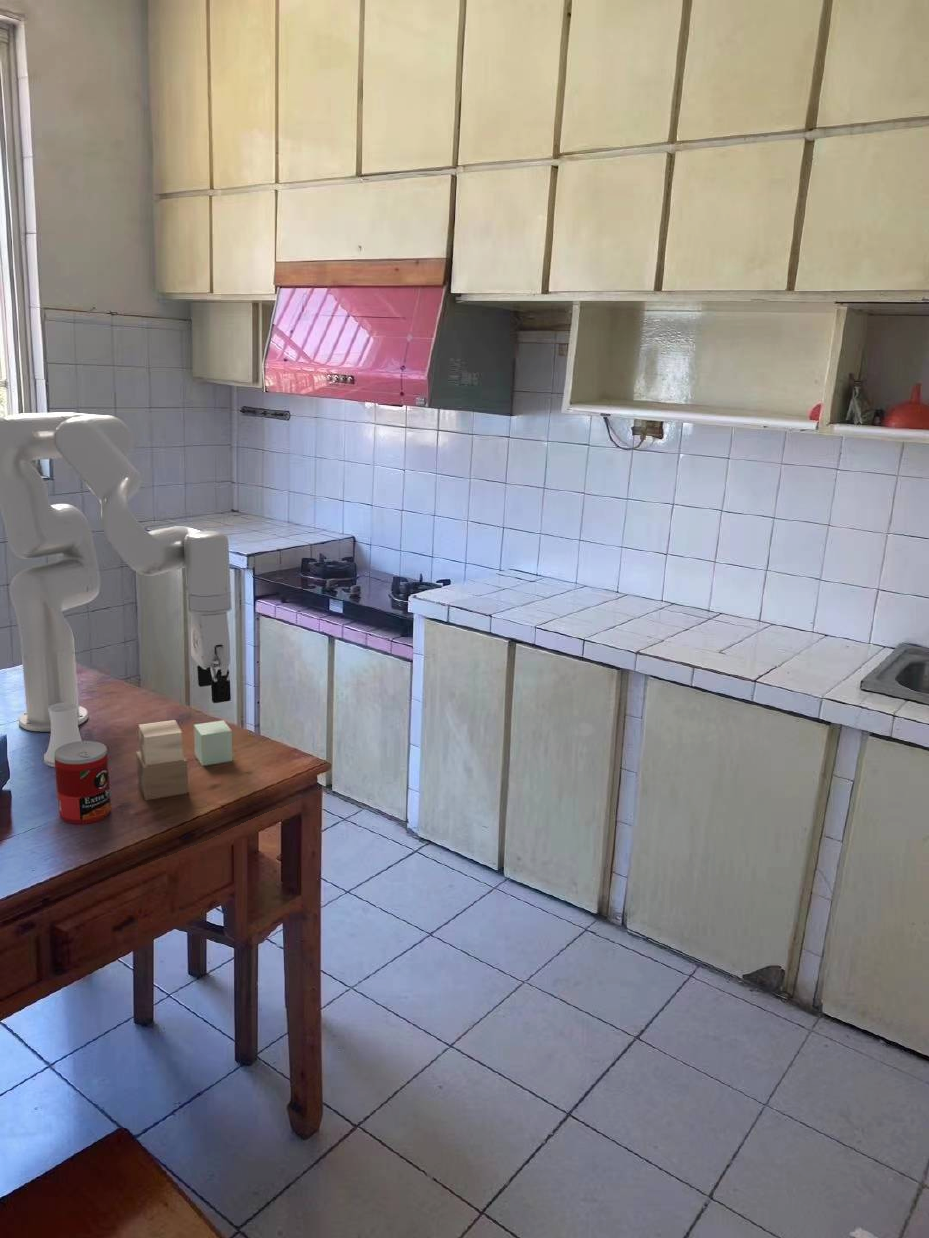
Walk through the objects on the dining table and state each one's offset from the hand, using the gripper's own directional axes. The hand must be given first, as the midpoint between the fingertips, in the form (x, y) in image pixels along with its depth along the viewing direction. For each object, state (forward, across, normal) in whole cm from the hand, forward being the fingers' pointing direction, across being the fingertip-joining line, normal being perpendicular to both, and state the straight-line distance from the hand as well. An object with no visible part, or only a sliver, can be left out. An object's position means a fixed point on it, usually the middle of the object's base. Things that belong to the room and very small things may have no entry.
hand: (214, 693), depth 167 cm
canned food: (+13, +12, -25) cm, 30 cm away
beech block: (+7, +8, -11) cm, 16 cm away
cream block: (+13, +8, -12) cm, 19 cm away
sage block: (+13, -1, -1) cm, 13 cm away
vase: (+12, -11, -25) cm, 30 cm away
